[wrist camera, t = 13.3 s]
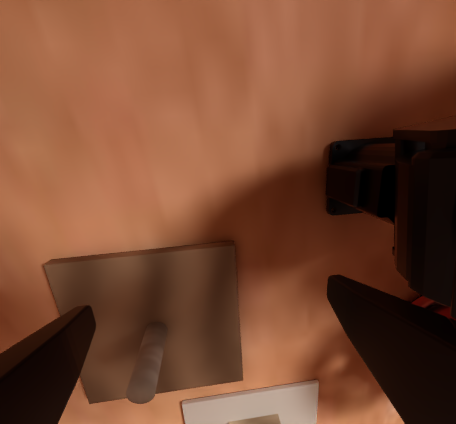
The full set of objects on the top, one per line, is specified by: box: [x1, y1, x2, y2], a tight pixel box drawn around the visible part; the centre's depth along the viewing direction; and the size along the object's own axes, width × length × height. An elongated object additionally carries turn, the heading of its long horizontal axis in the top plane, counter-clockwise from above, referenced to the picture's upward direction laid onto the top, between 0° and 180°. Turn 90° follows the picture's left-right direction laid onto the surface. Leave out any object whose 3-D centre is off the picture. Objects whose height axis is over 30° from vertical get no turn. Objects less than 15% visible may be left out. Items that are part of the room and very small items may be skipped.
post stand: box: [44, 241, 243, 404], centre depth 19 cm, size 16×16×7 cm
